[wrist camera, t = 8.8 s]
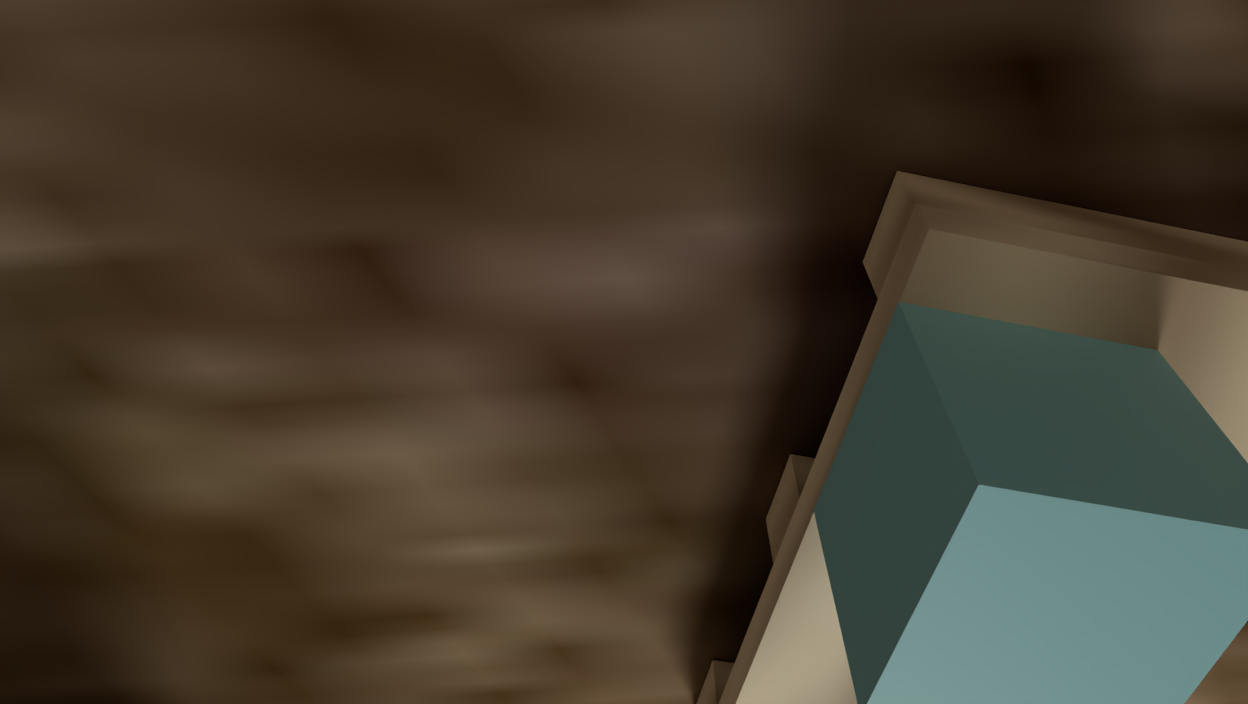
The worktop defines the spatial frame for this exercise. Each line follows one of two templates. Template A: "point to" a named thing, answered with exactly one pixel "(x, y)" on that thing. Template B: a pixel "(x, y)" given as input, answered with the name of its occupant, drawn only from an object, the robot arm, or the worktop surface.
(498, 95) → the worktop surface
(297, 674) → the worktop surface
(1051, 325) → the pallet dock
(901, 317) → the teal cube box
